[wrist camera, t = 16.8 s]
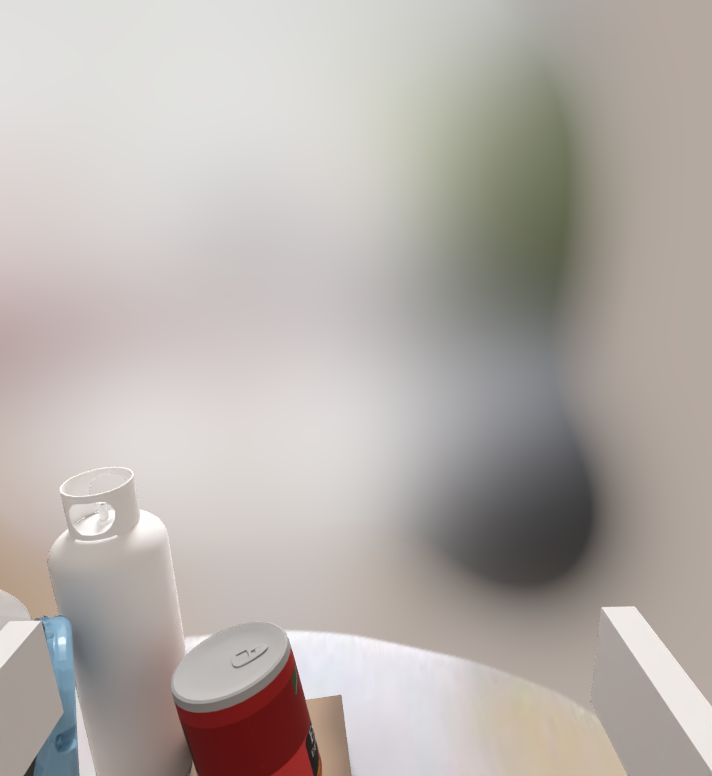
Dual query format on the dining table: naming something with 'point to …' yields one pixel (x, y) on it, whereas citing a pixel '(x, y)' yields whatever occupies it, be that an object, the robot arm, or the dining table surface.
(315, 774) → the canned food
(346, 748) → the walnut box
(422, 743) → the dining table surface
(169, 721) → the bottle
